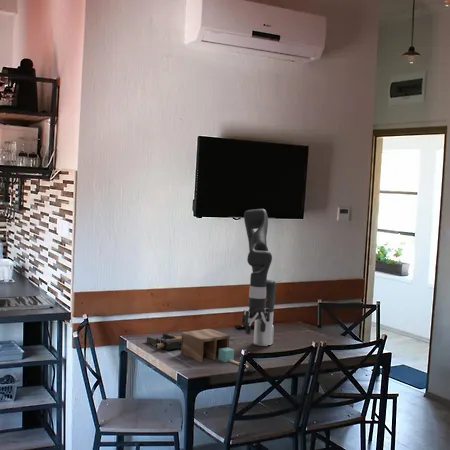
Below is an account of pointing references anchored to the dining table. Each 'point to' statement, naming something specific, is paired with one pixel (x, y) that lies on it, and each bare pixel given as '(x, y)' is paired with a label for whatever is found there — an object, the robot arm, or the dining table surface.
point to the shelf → (203, 343)
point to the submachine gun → (166, 341)
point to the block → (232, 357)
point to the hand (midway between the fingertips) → (255, 332)
